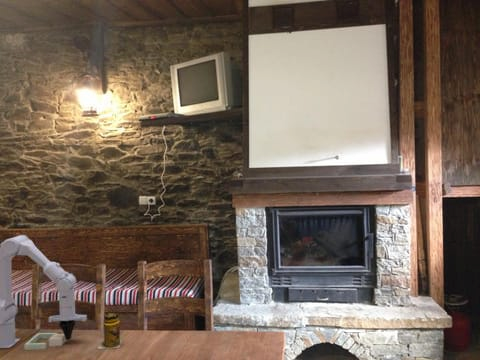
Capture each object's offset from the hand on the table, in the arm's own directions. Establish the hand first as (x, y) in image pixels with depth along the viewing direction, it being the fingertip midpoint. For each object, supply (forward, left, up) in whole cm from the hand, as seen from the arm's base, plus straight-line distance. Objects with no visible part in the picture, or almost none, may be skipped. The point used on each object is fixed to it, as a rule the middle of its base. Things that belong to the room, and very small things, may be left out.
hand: (68, 338), depth 166 cm
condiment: (+18, -3, -2) cm, 18 cm away
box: (-10, 0, -2) cm, 11 cm away
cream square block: (-4, 0, -2) cm, 5 cm away
